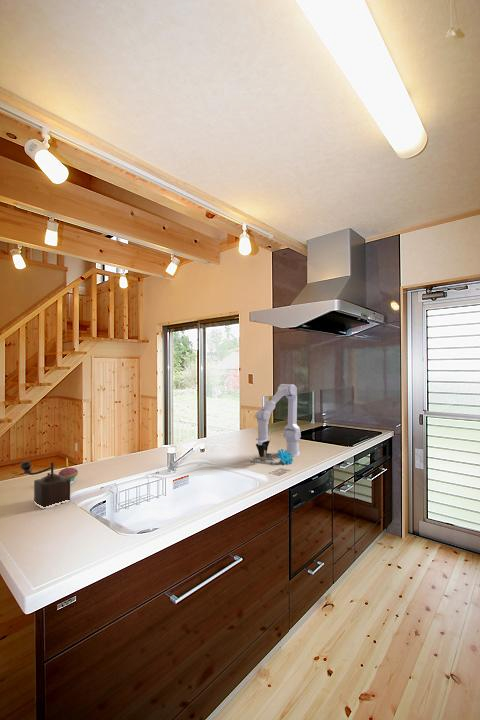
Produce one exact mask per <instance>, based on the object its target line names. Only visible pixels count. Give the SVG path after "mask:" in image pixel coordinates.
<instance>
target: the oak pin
mask: <svg viewBox="0 0 480 720" xmlns="http://www.w3.org/2000/svg"><path fill="white" fill-rule="evenodd" d="M259 457H260V456H259ZM260 461H263V462H265V461H266V451H265V450H264V456H263V457H260Z"/></svg>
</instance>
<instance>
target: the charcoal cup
mask: <svg viewBox="0 0 480 720" xmlns="http://www.w3.org/2000/svg"><path fill="white" fill-rule="evenodd" d="M266 458H274V454H273V453H271V452H270V453H268V452H267V453H266Z"/></svg>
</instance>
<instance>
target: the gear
mask: <svg viewBox="0 0 480 720" xmlns="http://www.w3.org/2000/svg"><path fill="white" fill-rule="evenodd" d="M276 455H277V459H279V462H280V463H281V462H282V464H283V465H292V464H293V461H294V459H293V458H294V457H295V456H293V455H292V456H290V452H288V453H287V449H283V448H281V449H278V451H277V453H276Z"/></svg>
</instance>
